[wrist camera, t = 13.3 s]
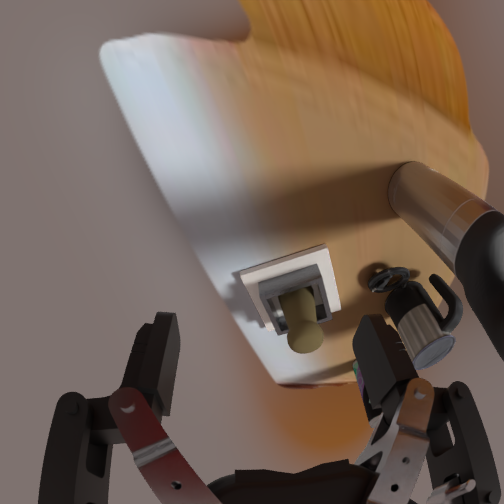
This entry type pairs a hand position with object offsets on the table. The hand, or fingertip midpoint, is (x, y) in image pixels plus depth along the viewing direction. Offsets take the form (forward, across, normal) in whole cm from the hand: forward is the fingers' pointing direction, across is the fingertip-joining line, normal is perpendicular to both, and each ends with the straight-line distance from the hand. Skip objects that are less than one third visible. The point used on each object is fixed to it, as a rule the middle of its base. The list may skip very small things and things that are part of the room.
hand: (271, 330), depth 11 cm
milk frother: (+28, -29, +21) cm, 45 cm away
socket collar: (+26, -9, +21) cm, 35 cm away
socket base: (+28, -9, +21) cm, 36 cm away
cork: (+26, -9, +21) cm, 35 cm away
